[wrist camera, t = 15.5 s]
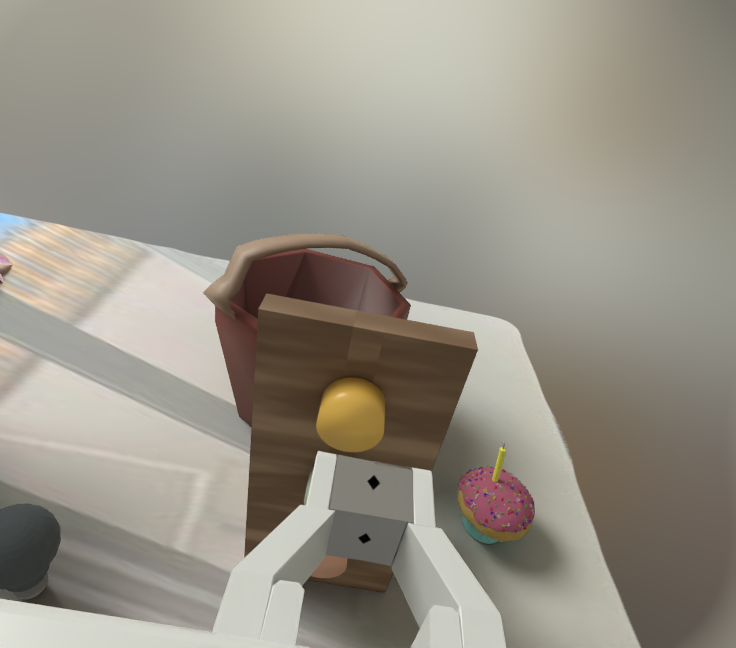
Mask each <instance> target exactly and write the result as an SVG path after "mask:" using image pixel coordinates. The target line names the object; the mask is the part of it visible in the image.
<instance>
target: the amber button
mask: <svg viewBox="0 0 736 648" xmlns="http://www.w3.org/2000/svg"><path fill="white" fill-rule="evenodd" d="M384 422H385V398H384V395H383V393H382V392H381V390H380V389H379V388H378V387H377V386H376V385H374V384H373V383H371V382H369V381H367V380H364V379H361V378H352V377H350V378H342V379H339V380H336V381H334V382H333V383H331V384H330V385H329V386H328V387H327V388H326V389H325V391H324V393H323V396H322V400H321V405H320V409H319V414H318V418H317V423H316V428H317V432H318V434H319V436H320V438H321V439H322V440H323V441H324V442H325V443H326V444H328V445H329V446H331V447H333V448H335V449H337V450H340V451H345V452H361V451H365V450H368V449H371V448H373V447H374V446H376V445H377V444H378V443H379V442H380V441H381V439H382V437H383V434H384Z"/></svg>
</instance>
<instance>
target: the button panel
mask: <svg viewBox="0 0 736 648" xmlns="http://www.w3.org/2000/svg"><path fill="white" fill-rule="evenodd" d="M477 351H478V348H477V344H476V340H475V335H474V332H469V331H464V330H458V329H453V328H448V327H442V326H437V325H432V324H426V323H421V322H416V321H410V320H405V319H400V318H394V317H389V316H384V315H378V314H373V313H368V312H362V311H357V310H352V309H346V308H341V307H336V306H330V305H325V304H320V303H314V302H309V301H304V300H298V299H293V298H288V297H282V296H277V295H272V294H266V295H265V297H264V299H263V301H262V303H261V305H260V307H259V309H258V324H257V342H256V360H255V378H254V396H253V414H252V431H251V449H250V467H249V485H248V503H247V520H246V538H245V556H244V558H245V557H246V556H247V555H248V554H249V553H250V552H251V551H252V550H254V549H255V548H256V547H257V546H258V545H259V544H260V543H261V542H262V541H263V540H264V539H265V538H266V537H267V536H268V535H269V534H270V533H271V532H272V531H273V530H274V529H275V528H277V527H278V526H279V525H280V524H281V523H282V522H283V521H284V520H285V519H286V518H287V517H288V516H289V515H290V514H291V513H292V512H293V511H294V510H295V509H296V508H297V507H299V506H300V505H304V497H305V493H306V488H307V483H308V479H309V474H310V470H311V468H312V466H313V465H314V464H315V460H316V456H317V453H318V451H321V452H326V453H332V454H337V455H343V456H348V457H353V458H358V459H363V460H368V461H373V462H374V461H376V462H382V463H389V464H395V465H401V466H407V467H411V468H418V469H423V470H429V471H432V469H433V466H434V463H435V461H436V458H437V456H438V453H439V450H440V448H441V445H442V442H443V440H444V437H445V435H446V432H447V429H448V427H449V424H450V422H451V419H452V416H453V414H454V411H455V408H456V406H457V403H458V401H459V398H460V395H461V393H462V390H463V387H464V385H465V382H466V380H467V377H468V374H469V372H470V369H471V367H472V364H473V361H474V359H475V356H476V353H477ZM350 377H352V378H361V379H364V380H367V381H369V382H371V383H373V384H374V385H376V386H377V387H378V388H379V389H380V390H381V392H382V393H383V395H384V398H385V422H384V434H383V437H382V439H381V441H380V442H379V443H378V444H377V445H376V446H374V447H373V448H371V449H368V450H365V451H361V452H345V451H340V450H337V449H335V448H333V447H331V446H329V445H328V444H326V443H325V442H324V441H323V440H322V439H321V438H320V436H319V434H318V432H317V428H316V423H317V418H318V414H319V409H320V405H321V400H322V396H323V393H324V391H325V389H326V388H327V387H328V386H329V385H330V384H331V383H333V382H334V381H336V380H339V379H342V378H350ZM391 567H392V566H388V565H383V564H378V563H373V562H368V561H362V560H359V559H358V560H357V559H349V558H347V567H346V570H345V571H344V572H343V573H342V574H341V575H339V576H336V577H332V578H317V577H312V576H310V577H309V578H308V579H307V580H311V581H318V582H324V583H330V584H336V585H342V586H348V587H354V588H360V589H366V590H373V591H379V592H386V589H387V586H388V584H389V581H390V579H391V576H392V573H393V571H392V568H391Z"/></svg>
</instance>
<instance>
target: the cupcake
mask: <svg viewBox="0 0 736 648" xmlns="http://www.w3.org/2000/svg"><path fill="white" fill-rule="evenodd" d="M504 445H505V443H504V442H503V445H502V447H501V448H500V450H499V454H498V458H497V462H496V466H495V467H494V468H493V467H489V466H487V467H478V468H476V469H475V468H474V469H473V470H469V471H468V472H467V473H466V474H465V475H464V476H461V479H460V481H459V484H458V487H459V491H458V504H459V506H460V509H461V511H462V513H463V524H464V527H465V529H466V531H467V532H468V533H469V534H470V535H471V536H472V537H473V538H474V539H476V540H477V541H479V542H482V543H486V544H492V543H496V542H498V541H501V542H504V541H512V540H518V539H520V538H522V537H523V536H524V535H525V534H526V533H527V532H528V530H529V529H530V527H531V524H532V521H533V518H534V513H535V510H534V501H533V498H532V497H531V493H530V494H529V492H528V490H527V489H526V486H523V484H522V483H521V482H520V480H518V479H517V478H515V477H514V476H513V475H512V473H509V472H506V471H505V470H501V468H502V464H503V461H504V457H505V453H506V449H505V448H504Z"/></svg>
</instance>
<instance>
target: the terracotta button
mask: <svg viewBox="0 0 736 648" xmlns="http://www.w3.org/2000/svg"><path fill="white" fill-rule="evenodd" d="M346 567H347V558H342V557H335V556H327V555H325V558H324V559H323V560H322V562H321V563H320V564H319V565H318V567H317V568H316V569H315V570H314V572H313V573H312V574H311V576H312V577H317V578H332V577H336V576H339V575H341V574H342V573H343V572H344V571H345V570H346Z"/></svg>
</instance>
